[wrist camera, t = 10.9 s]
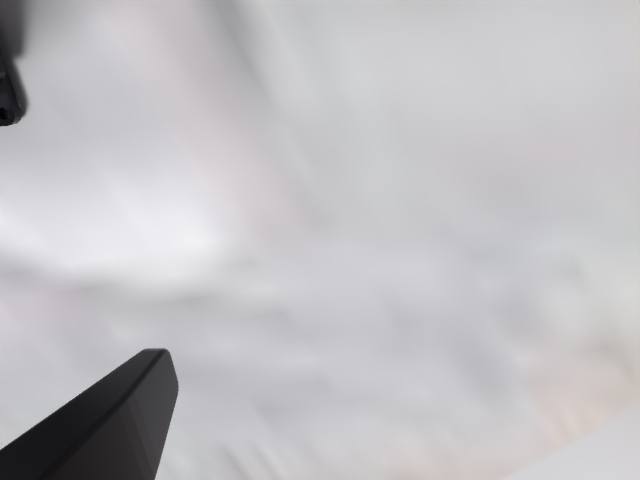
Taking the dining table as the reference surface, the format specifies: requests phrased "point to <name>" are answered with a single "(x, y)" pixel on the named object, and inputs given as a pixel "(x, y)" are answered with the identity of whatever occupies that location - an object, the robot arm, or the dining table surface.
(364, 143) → the dining table surface
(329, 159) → the dining table surface
